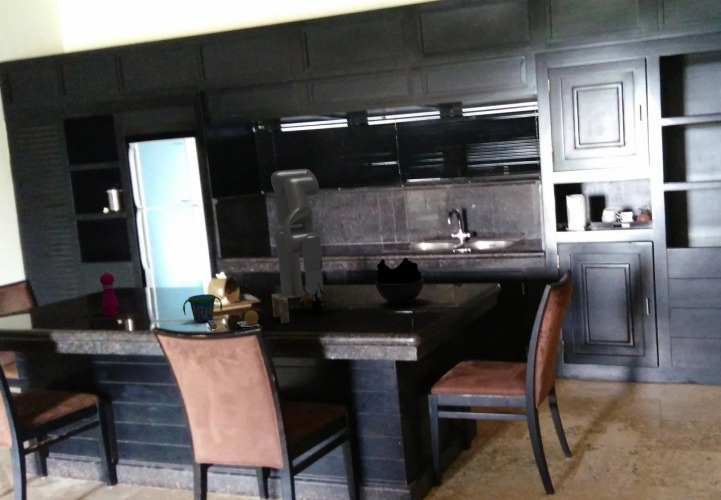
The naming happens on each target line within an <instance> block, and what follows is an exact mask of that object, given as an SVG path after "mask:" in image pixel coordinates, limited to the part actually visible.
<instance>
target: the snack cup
mask: <svg viewBox="0 0 721 500" xmlns="http://www.w3.org/2000/svg"><path fill="white" fill-rule="evenodd" d="M216 299H217V300H218V301H219V303H220V307H219V308H220V309H219V311H222V310H223V303H222V300H221V299H220V298H219V297H218V296H216V295H215V294H210V293H208V294H207V293H206V294H196V295H192V296H189V297H188V299H186V300H185V301H184V302H183V306H182V311H183V314H184V316H187V314H186V304H187V303H188V302H189V304H190V309H191V312H192V316H193V320H194V322H195V321H197V322H196V323H199V322H202V323H206V322H205V321H207V322H208V320H212V319H213V320H214V314H215V313H214V311H215V308H214V307H215V302H216Z"/></svg>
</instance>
